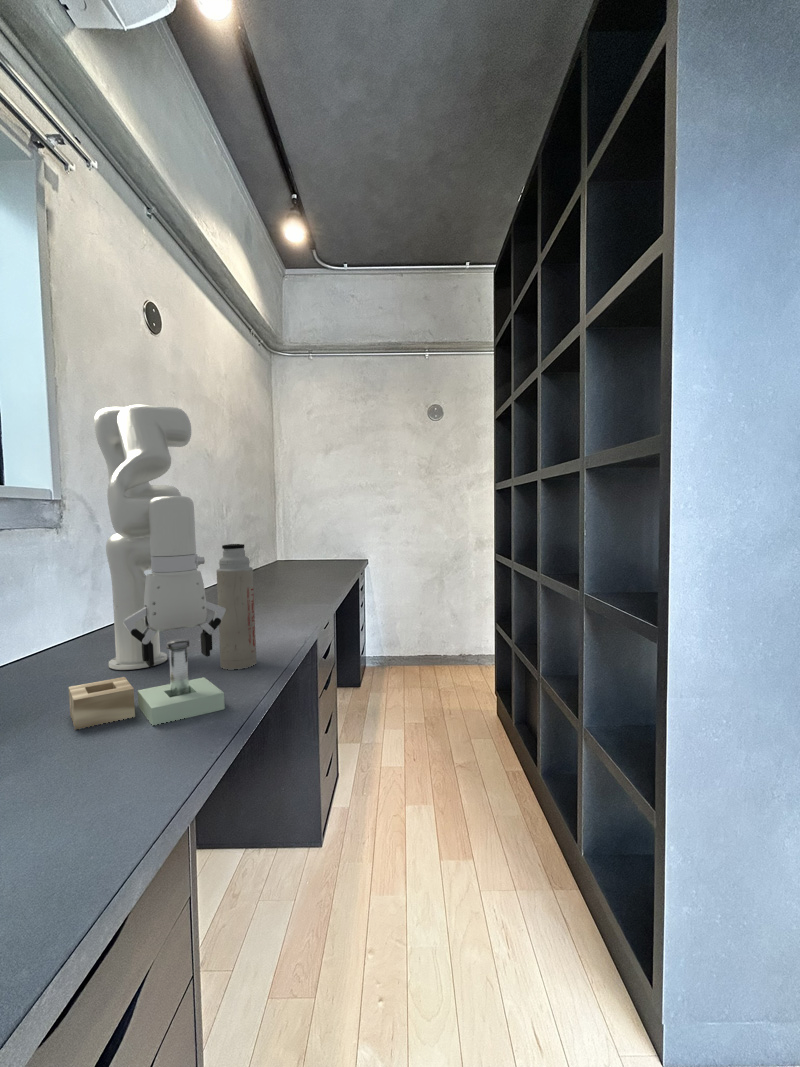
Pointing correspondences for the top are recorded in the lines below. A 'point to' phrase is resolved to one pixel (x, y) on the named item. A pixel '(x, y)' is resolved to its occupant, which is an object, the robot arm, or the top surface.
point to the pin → (178, 666)
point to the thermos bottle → (236, 609)
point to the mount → (101, 702)
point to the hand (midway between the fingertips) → (178, 659)
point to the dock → (180, 701)
